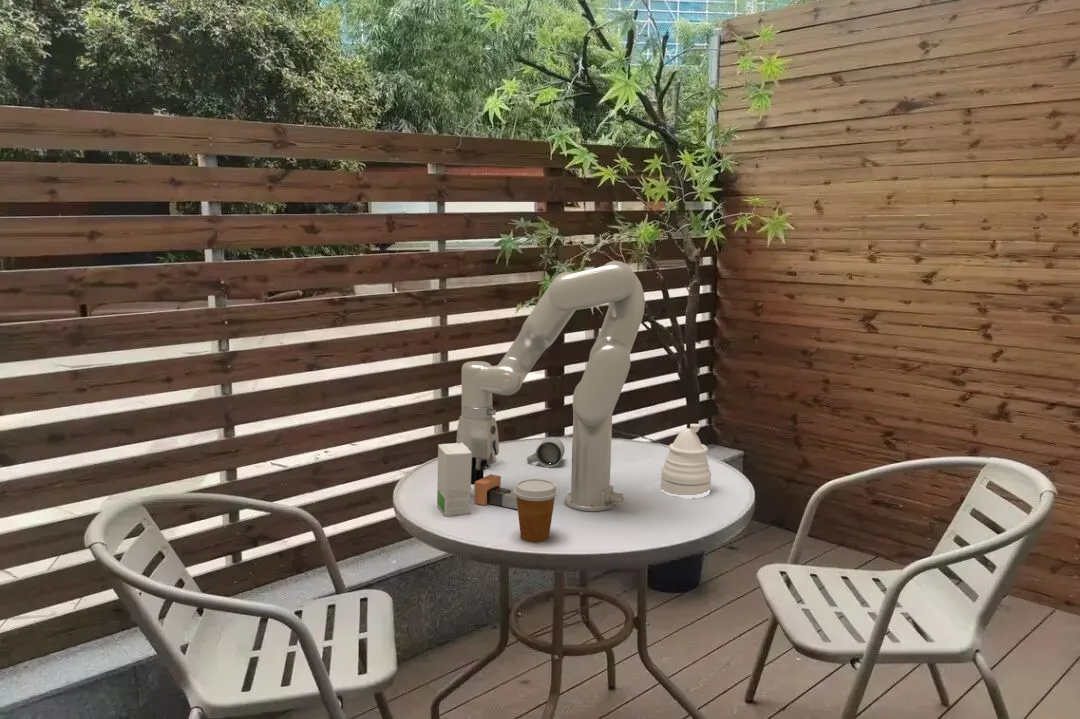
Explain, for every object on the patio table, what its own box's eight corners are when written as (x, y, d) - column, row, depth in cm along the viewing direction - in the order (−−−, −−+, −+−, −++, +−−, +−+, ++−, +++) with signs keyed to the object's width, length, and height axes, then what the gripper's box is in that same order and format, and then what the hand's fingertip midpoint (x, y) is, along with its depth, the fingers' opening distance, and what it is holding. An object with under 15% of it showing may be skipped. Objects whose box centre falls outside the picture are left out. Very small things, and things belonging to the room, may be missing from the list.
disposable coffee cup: (506, 541, 177) (507, 488, 175) (522, 526, 186) (523, 475, 184) (547, 548, 174) (549, 494, 172) (562, 532, 183) (563, 481, 181)
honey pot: (719, 490, 213) (723, 423, 210) (693, 502, 204) (697, 432, 201) (677, 479, 222) (680, 415, 219) (650, 490, 212) (653, 423, 209)
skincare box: (436, 505, 198) (436, 443, 196) (463, 502, 201) (463, 441, 198) (445, 517, 190) (445, 453, 188) (472, 514, 193) (472, 451, 190)
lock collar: (474, 503, 200) (474, 481, 199) (490, 494, 206) (490, 474, 205) (484, 505, 198) (485, 484, 197) (500, 496, 205) (500, 476, 204)
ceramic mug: (565, 460, 237) (565, 434, 236) (562, 468, 229) (562, 442, 228) (529, 458, 239) (529, 433, 237) (524, 467, 231) (524, 440, 229)
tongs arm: (476, 500, 201) (476, 489, 201) (480, 498, 203) (480, 487, 202) (537, 514, 193) (537, 502, 193) (541, 511, 195) (541, 499, 194)
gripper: (510, 412, 200) (510, 484, 203) (460, 405, 207) (460, 474, 210) (494, 419, 193) (493, 492, 196) (443, 410, 200) (443, 482, 204)
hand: (476, 483), depth 203 cm, fingers closed
